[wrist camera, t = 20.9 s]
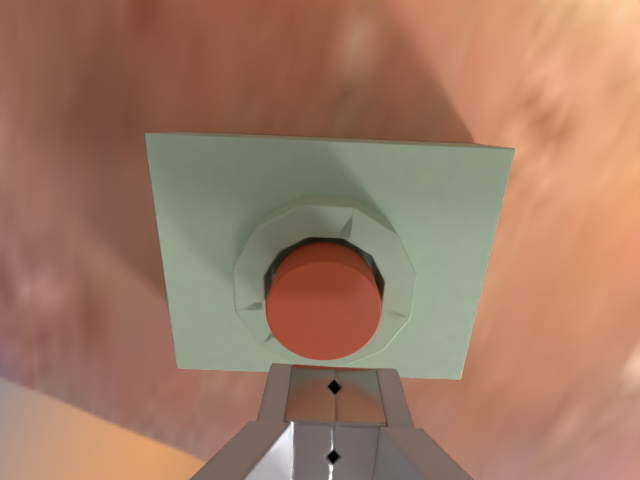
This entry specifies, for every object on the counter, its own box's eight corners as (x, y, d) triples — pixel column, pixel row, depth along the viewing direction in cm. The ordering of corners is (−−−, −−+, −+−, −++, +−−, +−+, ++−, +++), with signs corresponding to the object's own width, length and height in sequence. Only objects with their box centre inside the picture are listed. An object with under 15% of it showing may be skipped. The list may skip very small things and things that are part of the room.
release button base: (200, 329, 19) (158, 398, 14) (179, 131, 15) (113, 134, 10) (439, 339, 19) (477, 411, 14) (477, 143, 15) (547, 152, 10)
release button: (273, 330, 13) (266, 359, 12) (272, 239, 12) (263, 257, 10) (370, 334, 13) (376, 363, 12) (380, 243, 12) (388, 262, 10)
